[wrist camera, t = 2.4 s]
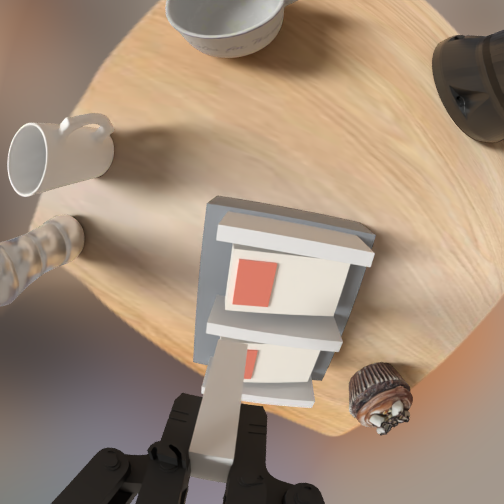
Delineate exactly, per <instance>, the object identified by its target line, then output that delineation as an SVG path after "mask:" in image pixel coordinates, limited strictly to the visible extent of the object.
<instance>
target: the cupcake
mask: <svg viewBox="0 0 504 504" xmlns="http://www.w3.org/2000/svg"><path fill="white" fill-rule="evenodd" d="M412 401H413V397H412V394H411V393H410V386H409V385H408V384H407V383H406V382H405V380H404V379H403V378H402V377H401V376H400V374H399V373H398V372H397V371H396V370H395V369H394V368H393V367H392V366H391V365H390V364H388V363H382V362H380V363H374V364H371V365H368V366H366V367H364V368H362V369H361V370H359V371H358V372H356V373H355V375H354V376H353V377H352V378H351V380H350V382H349V412H350V414H352V416H354V418H355V417H356V419H357V420H358V421H359V422H360V423H361V424H362V425H364V426H366V427H377V432H378V433H379V434H380V435H384V434H387V433H388V432H389V431H390V430H391V428H392V427H395V426H397V425H398V423H403V422H408V421H409V417H410V413H409V412H408V410H409V408H410V407H411V405H412Z"/></svg>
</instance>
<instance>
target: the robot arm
mask: <svg viewBox="0 0 504 504" xmlns="http://www.w3.org/2000/svg"><path fill="white" fill-rule="evenodd" d="M432 69H433V76H434V81H435V84H436V88H437V90H438V93H439V96H440V98H441V100H442V102H443V104H444V106H445V108H446V110H447V112H448V113H449V115H450V116H451V118H452V119H453V120H454V122H455V123H456V124H457V125H458V127H459V128H460V129H461V130H462V131H463V132H465V133H466V134H467V135H468V136H470V137H471V138H473V139H475V140H477V141H481V142H499V141H501V140H504V30H502V31H499V32H497V33H494V34H491V35H489V36H463V35H456V36H452V37H449V38H447V39H445V40H444V41H442V42H440V43H439V44H438V45H437V47H436V48H435V50H434V53H433V59H432ZM247 348H248V344H244V343H238V342H232V341H226V340H221V339H218V342H217V346H216V350H215V354H214V357H213V361H212V365H211V368H210V372H209V376H208V380H207V383H206V387H205V391H204V395H203V397H199V396H194V395H189V394H185V393H182V394H181V395H180V396H179V397H178V398H177V399H176V400H175V401H174V404H173V407H172V410H171V412H170V415H169V419H168V421H167V424H166V427H165V430H164V432H163V435H162V438H161V441H158V442H155V443H154V444H152V445H151V446H150V447H149V448H148V450H147V451H148V454H147V455H127V454H124V453H123V452H121V451H120V450H117V449H115V448H105V449H102V450H101V451H99V452H98V453H97V454H96V455H95V456H94V457H93V458H92V459H91V460H90V461H89V463H88V464H87V465H86V466H85V467H84V468H83V469H82V470H81V471H80V473H79V474H78V475H77V476H76V477H75V478H74V479H73V480H72V481H71V482H70V484H69V485H68V486H67V487H66V488H65V489H64V490H63V491H62V492H61V494H60V495H59V496H58V497H57V498H56V499H55V500H54V501H53V502H52V504H130V503H131V502H132V500H133V499H134V497H135V496H136V495H137V493H139V495H138V498H137V501H136V504H185V501H186V496H187V492H188V483H189V478H190V476H191V477H196V478H201V479H206V480H211V481H217V482H224V483H226V490H225V494H224V497H223V504H325V502H324V501H323V497H322V495H321V492H320V491H319V489H318V488H317V487H315V486H314V485H312V484H308V483H298V484H296V485H293V484H289V483H286V482H283V481H280V480H278V479H276V478H274V477H273V476H271V475H270V474H269V472H268V471H267V468H266V463H265V461H266V434H267V415H266V412H265V410H264V408H263V406H255V405H248V404H241V398H242V389H243V381H244V373H245V365H246V357H247Z"/></svg>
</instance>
